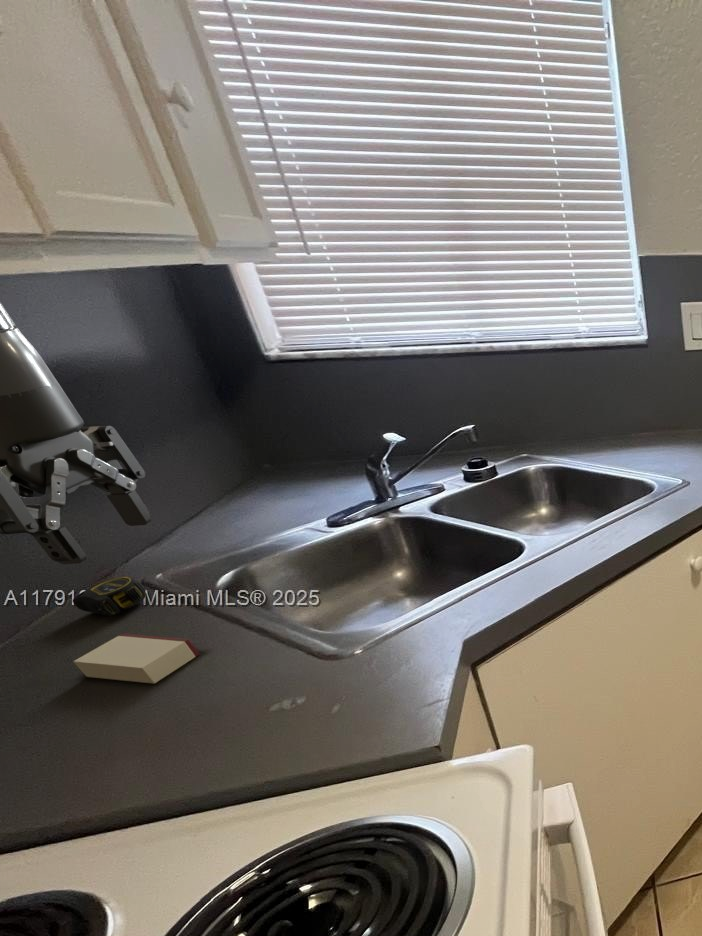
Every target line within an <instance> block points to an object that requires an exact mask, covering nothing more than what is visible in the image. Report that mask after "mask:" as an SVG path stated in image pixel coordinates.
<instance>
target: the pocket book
mask: <svg viewBox="0 0 702 936" xmlns="http://www.w3.org/2000/svg"><path fill="white" fill-rule="evenodd" d="M199 655H200V653H199V651H198V650H197V649H196V647H195V646H194V645H193V644H192V642H191V641H190V640H189V639H188V638H179V637H178V638H177V637H166V636H156V635H155V636H153V635H142V634H130V633H121V634H119V635H117V636H115V637H114V638H112V639H110V640H108V641H107V642H105V643H103V644H101V645H100V646H98V647H96V648H95V649H93V650H90V651H89V652H87V653H85V654H84V655H82V656H80V657H79V658H77V659H75V660H73V663H74V665H75V666H77V668H78V669H79V670H80V672H81V673H83V674H84V676H85V677H87V678H94V679H95V678H96V679H105V680H116V681H125V682H136V683H145V684H156V683H158V682H159V681H161V680H163V679H164V678H165V677H167V676H169V675H170V674H172V673H173V672H175V671H176V670H178V669H179V668H181V667H183V666H184V665H186V664H187V663H188V662H190V661H192V660H193V659H195V658H196V657H198V656H199Z"/></svg>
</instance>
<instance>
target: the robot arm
mask: <svg viewBox="0 0 702 936" xmlns="http://www.w3.org/2000/svg"><path fill="white" fill-rule="evenodd" d="M84 424H85V422H84V419H83V418H82V417H81V415H80V413H79V412H78V410H77V408H76V407H75V406H74V404H73V403H72V401H71V400H70V398H69V397H68V395H67V393H66V392H65V391H64V389H63V388H62V386H61V385H60V383H59V382H58V380H57V379H56V377H55V375H54V374H53V372H52V371H51V370H50V367H48V365H47V363H46V362H45V361H44V359H43V357H42V356H41V355H40V353H39V352H38V351H37V349H36V348H35V347H34V346H33V344H32V343H31V342H30V341H29V339H27V338H26V336H25V335H24V334H23V333H22V331H21V330H20V329H19V327H17V325H16V323H15V320H13V318H12V317H11V315H10V314H9V312H8V310H7V309H6V308H5V306H4V305H3V303H2V302H1V301H0V534H1V535H14V534H29V535H31V536H32V537H33V538H34V540H35V541H36V542H37V544H38V545H39V546H40V547H41V548H42V549H43V551H44V552H45V553H46V555H47V556H48V557H49V558H50V559H51V560H52V561H54V562H57V563H59V564H61V565H74V564H76V565H77V564H80V563H83V562H85V561H86V560H87V559H88V555H86V553H85V552H84V550H83V549H82V548H81V546H80V545H79V543H78V542H77V541H76V539H74V537H73V536H72V534H71V533H70V532H69V530H68V529H67V528H66V527H65V526H61V508H62V507H64V506H65V505H66V502H67V500H66V497H67V496H66V495H69V494H71V493H74V492H76V491H77V489H78V488H80V487H81V486H83V487H84V486H89V485H92V486H94V487H96V488H97V489H98V488H99V489H100V490H102V491H104V492H106V493H108V494H106V497H107V499H108V500H109V502H110V503H111V504H112V506H113V507H114V509H115V510H116V512H117V513H118V515H119V516H120V518H121V519H122V520H123V522H124V523H125V524H126V525H127V526H130V527H137V526H138V527H139V526H146V525H147V524H149V523H151V522H152V518H151V517H150V512H149V511H150V510H149V509H148V507H147V506H146V505H145V504H144V501H143V500H142V499H141V497H140V496H139V494H138V493H137V491H136V489H137V484H136V483H137V482H138V480H141V479H144V478H145V477H146V471H145V469H144V468H143V467H142V466H141V464H140V462H139V461H138V460H137V458H136V457H135V455H134V454H133V453H132V451H131V450H130V448H129V447H128V446H127V444H126V443H125V441H124V440H123V439H122V437H121V435H120V434H119V433H118V431H117V430H116V429H115V427H113V426H111V425H98V426H84ZM95 455H96V456H95ZM119 461H120V462H121V463H122V464H123V466H124V467H123V466H122V465H121V464H120V462H119ZM34 492H35V493H37V494H39V495H42V496H34ZM39 511H40V517H39Z"/></svg>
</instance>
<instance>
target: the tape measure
mask: <svg viewBox="0 0 702 936" xmlns="http://www.w3.org/2000/svg"><path fill="white" fill-rule="evenodd" d="M146 597H147V593H146V588H145V587H144V585H143V583H141V582H140V581H139V580H138V579H136V578H134V577H131V576H118V577H112V578H109V579H106V580H103V581H100V582H97V583H95V584H93V585H92V586H90V587H88V588H87V589H85V590H83V591H82V592H80V593H79V594H77V595H76V596H75V597H73V598H72V603H73V604H74V606H75V607H76V608H77V609H78V610H81V611H83V612H87V613H93V614H94V613H95V614H99V615H103V616H106V617H114V616H115V615H117V614H119V613H120V612H121V611H125V610H127V609H131V608H132V607H134V606H136V605H137V604H140V603H141V602H142V601H143V600H144V599H145V598H146Z"/></svg>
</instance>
